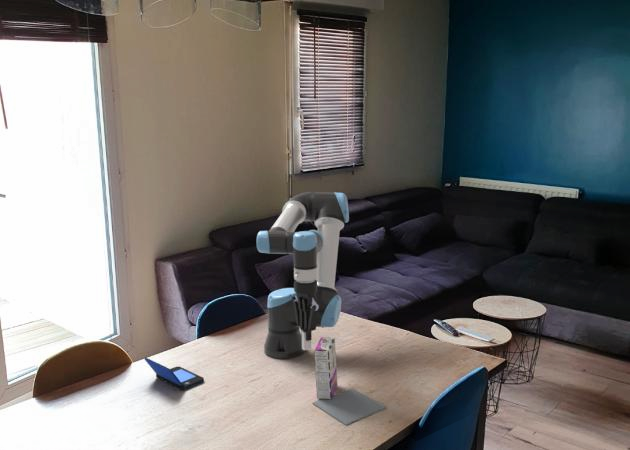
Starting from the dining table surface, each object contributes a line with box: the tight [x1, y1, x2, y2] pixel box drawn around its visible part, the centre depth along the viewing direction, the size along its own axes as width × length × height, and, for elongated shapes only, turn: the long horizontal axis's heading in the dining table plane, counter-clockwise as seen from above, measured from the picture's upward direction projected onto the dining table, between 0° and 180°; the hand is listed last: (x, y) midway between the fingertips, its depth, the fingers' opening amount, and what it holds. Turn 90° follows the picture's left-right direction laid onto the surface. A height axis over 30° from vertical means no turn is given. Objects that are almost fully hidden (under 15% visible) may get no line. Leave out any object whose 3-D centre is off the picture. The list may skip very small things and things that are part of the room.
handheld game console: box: [144, 357, 205, 392], centre depth 203 cm, size 16×13×9 cm
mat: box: [312, 387, 387, 426], centre depth 186 cm, size 16×16×1 cm
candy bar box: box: [313, 336, 338, 400], centre depth 193 cm, size 11×5×16 cm, turn 168°
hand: (306, 348), depth 201 cm, fingers closed
